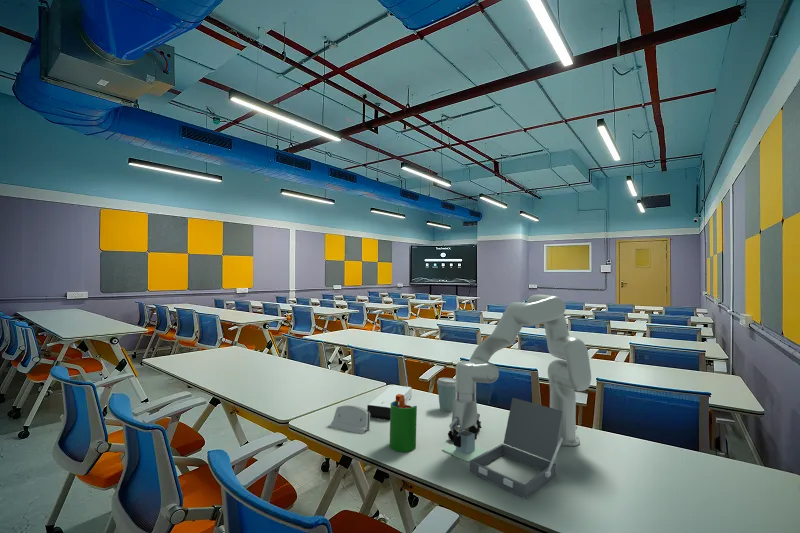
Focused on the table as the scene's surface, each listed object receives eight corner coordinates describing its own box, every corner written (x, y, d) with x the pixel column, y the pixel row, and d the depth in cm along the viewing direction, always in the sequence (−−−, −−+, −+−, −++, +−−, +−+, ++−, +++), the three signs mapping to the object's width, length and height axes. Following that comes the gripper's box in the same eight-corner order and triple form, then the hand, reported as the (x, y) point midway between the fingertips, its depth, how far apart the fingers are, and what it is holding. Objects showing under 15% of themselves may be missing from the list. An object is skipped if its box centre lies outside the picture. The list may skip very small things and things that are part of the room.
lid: (503, 443, 137) (504, 443, 137) (553, 462, 123) (554, 462, 124) (512, 397, 141) (513, 397, 142) (562, 411, 128) (563, 411, 128)
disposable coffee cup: (443, 404, 189) (443, 374, 189) (462, 409, 182) (462, 378, 183) (432, 410, 180) (432, 379, 181) (452, 415, 174) (452, 383, 174)
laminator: (390, 421, 166) (390, 407, 166) (364, 418, 170) (365, 404, 170) (411, 398, 198) (411, 387, 198) (389, 396, 202) (389, 384, 202)
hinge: (329, 427, 158) (334, 402, 161) (335, 427, 162) (339, 403, 165) (364, 434, 151) (368, 408, 154) (369, 434, 155) (373, 408, 159)
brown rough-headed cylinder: (457, 444, 144) (457, 429, 144) (444, 438, 149) (444, 424, 149) (483, 431, 156) (483, 418, 157) (470, 427, 161) (470, 414, 161)
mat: (461, 441, 147) (461, 440, 147) (487, 451, 138) (487, 450, 138) (442, 450, 138) (442, 449, 138) (468, 462, 130) (468, 461, 130)
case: (506, 450, 139) (506, 419, 140) (563, 472, 124) (563, 437, 124) (468, 472, 123) (468, 437, 123) (528, 501, 108) (528, 460, 108)
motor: (419, 444, 143) (420, 392, 143) (409, 454, 135) (410, 398, 135) (395, 439, 147) (396, 388, 148) (384, 448, 139) (386, 394, 139)
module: (463, 445, 142) (464, 429, 142) (474, 450, 138) (474, 433, 138) (455, 449, 138) (455, 432, 138) (466, 454, 135) (466, 436, 135)
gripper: (471, 388, 147) (470, 432, 147) (442, 398, 135) (442, 445, 135) (487, 393, 142) (486, 438, 141) (459, 403, 130) (458, 453, 129)
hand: (465, 442), depth 138 cm, fingers open, 9 cm apart
